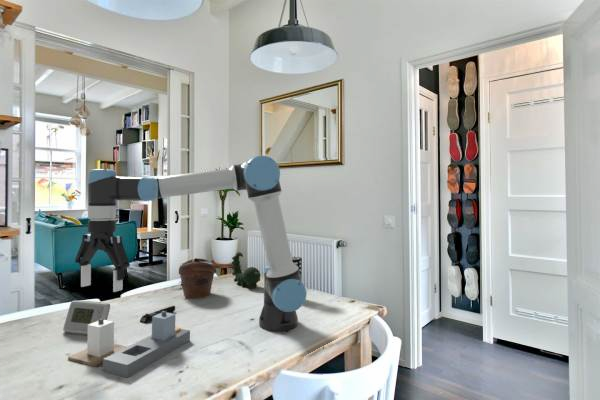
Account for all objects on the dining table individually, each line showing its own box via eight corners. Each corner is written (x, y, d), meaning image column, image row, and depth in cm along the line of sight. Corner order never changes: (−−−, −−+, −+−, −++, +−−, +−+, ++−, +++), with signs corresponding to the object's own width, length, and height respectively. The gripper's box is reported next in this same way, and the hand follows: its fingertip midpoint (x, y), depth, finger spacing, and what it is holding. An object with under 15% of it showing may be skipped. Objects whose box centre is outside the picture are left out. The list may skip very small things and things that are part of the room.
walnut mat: (131, 350, 110) (131, 347, 110) (97, 367, 98) (97, 364, 98) (103, 343, 114) (103, 341, 114) (68, 359, 103) (68, 356, 103)
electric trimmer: (177, 313, 146) (177, 305, 146) (145, 324, 132) (145, 316, 132) (171, 311, 148) (171, 304, 148) (139, 322, 134) (139, 314, 134)
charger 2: (175, 341, 113) (175, 310, 113) (164, 347, 109) (164, 315, 109) (163, 338, 115) (163, 308, 115) (151, 344, 111) (152, 312, 110)
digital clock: (60, 332, 122) (60, 303, 122) (84, 324, 131) (84, 296, 131) (91, 340, 116) (91, 309, 116) (115, 331, 125) (115, 302, 124)
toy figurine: (228, 285, 196) (253, 291, 177) (227, 252, 197) (251, 254, 178) (242, 283, 202) (267, 288, 184) (241, 251, 203) (266, 252, 185)
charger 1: (113, 350, 108) (113, 317, 108) (99, 357, 103) (99, 323, 103) (101, 347, 109) (102, 315, 109) (87, 354, 105) (87, 320, 105)
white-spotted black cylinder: (304, 298, 168) (305, 257, 168) (295, 303, 161) (295, 260, 161) (290, 295, 172) (290, 256, 172) (280, 299, 165) (281, 258, 165)
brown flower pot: (198, 287, 185) (199, 254, 185) (224, 294, 174) (224, 258, 173) (169, 295, 171) (169, 259, 170) (194, 303, 159) (194, 264, 159)
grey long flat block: (189, 340, 117) (190, 328, 117) (127, 377, 93) (127, 362, 93) (168, 336, 121) (169, 324, 121) (102, 371, 96) (103, 356, 96)
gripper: (142, 220, 105) (142, 289, 105) (84, 217, 114) (84, 281, 114) (122, 222, 98) (121, 296, 98) (62, 218, 107) (61, 286, 107)
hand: (101, 288), depth 106 cm, fingers open, 13 cm apart
